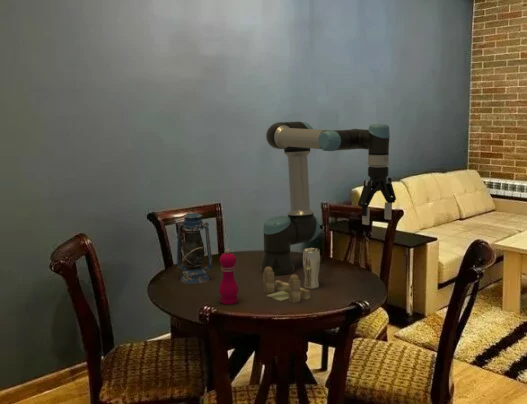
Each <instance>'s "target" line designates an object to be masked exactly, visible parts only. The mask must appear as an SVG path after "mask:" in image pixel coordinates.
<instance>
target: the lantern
mask: <svg viewBox="0 0 527 404" xmlns="http://www.w3.org/2000/svg"><path fill="white" fill-rule="evenodd" d="M191 211H194V212H193V213H191ZM202 217H203V214H201V213H198V212H197V210H196V209H193V208H191V209H189V210H188V212H187V213H186V214H185V215H183V218H184V220H183V222H182V221H181V222H180V221H178V222H177V224H176V225H177V244H176V245H177V249H176V265H177V268H178V269H180V270H182V275H181V277H180V282H181V283H183V284H188V285H200V284H204V283H207V282H209V281H210V280H211V279H210V276H209V274H208V271H210V270H212V268H213V257H212V256H213V255H212V248H211V238H210V230H209V223H208V221H206V222H205V223H204V222H203V220H202ZM202 230H204V231H205V232H204V233H205V242H206V247H205V246H204V245H205V244H204V241H203V237H202V234H201V231H202ZM182 231H186V235H185V240H184V244H182ZM206 254H207V262H208V263H207V266H206V267H203V266H202V265H203V262H204V260H205V255H206ZM182 256H183V262H184V263H185V264H186V266H185V265H183V264H182V261H181V260H182ZM209 279H210V280H209Z"/></svg>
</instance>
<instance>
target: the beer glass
mask: <svg viewBox="0 0 527 404" xmlns="http://www.w3.org/2000/svg"><path fill="white" fill-rule="evenodd" d="M320 254H321V253H320V249H319V248H316V247H305V248H303V249H302V260H301V261H302V268H303V269H302V270H303V273H304V274H303V275H304V282H303V287H304V289H308V290H309V289H313V290H314V289H318V288H319V287H320V284H319V273H320V266H321V255H320Z"/></svg>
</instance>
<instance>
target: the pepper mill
mask: <svg viewBox="0 0 527 404" xmlns="http://www.w3.org/2000/svg"><path fill="white" fill-rule="evenodd" d="M219 263H220V265H221V266H220V267H221V271H222V279H221V282H220V285H219V288H218V293H219V294H220V303H221V304H222V303H223V305H234V304H236V303H238V296H237V295H238V293H239V292H240V291H239V287H238V286H239V285H238V284H237V281H236V279H235V275H234V274H235V270H236V268H235V267H236V266H235V264H236V263H237V258H236V256H235V254H233V253H232V252H231V250H230V249H229V248H227V249H225V250H224V253H222V254H221V255H220V257H219ZM233 303H234V304H233Z"/></svg>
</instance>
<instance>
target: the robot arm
mask: <svg viewBox="0 0 527 404" xmlns="http://www.w3.org/2000/svg"><path fill="white" fill-rule="evenodd" d="M390 136H391V134H390V126H389V125H388V124H384V123H383V124H369V125H368V129H363V128H350V129H336V130H335V129H334V130H333V129H315V128H314V127H313V126H311V125H310V123H308V122H307V121H285V122H284V121H283V122H282V121H281V122H280V121H279V122H276V123H272V125H271V126H269V127H268V129H267V131H266V135H265V137H266V141H267V143H268V145H269V146H271V147H272V148H273V149H275V150H276V149H277V150H283V153H284V154H285V155H286V157H287V162H288V181H289V182H288V183H289V185H288V186H289V198H290V199H289V200H290V201H289V202H290V210H289V211H288V213H287V216H285V215H279V216H272V217H270V218H267V219H266V220H265V221H264V223H263V229H262V231H263V255H262V261H261V264H260V272H261V273H262V274H263V272H265V271H264V270H265V268H266V267H268V266H269V267H271V268H272V269H273V272H274V276H283V275H289V274H292V273H294V272H295V270H296V269H295V263H294V260H293V257H292V254H291V253H292V252H291V246H294V245H298V244H304V243H309V242H313V241H314V240H315V239H317V237H318V236H319V233H320V230H321V225H320V221H319V219H318V217H317V216H315V214H314V211H312V209H311V205H310V204H311V203H310V187H309V185H310V184H309V166H308V155H309V154H310V153H311V149H314V150H315V149H316V150H322V151H324V152H336V151H345V150H346V151H349V150H368V154H367V155H368V157H367V159H368V160H367V166H368V167H367V176H368V177H369V180H368V179H364V180H363V187H362V190H361V193H360V195H359V196H360V197H359V199H358V203H357V206H358V207H360V208H361V217H362V218H361V220H362V223H361V224H362V225H365V226H369V225H370V203H371V202H372V200H373V198H374V196H375V194H376V193H377V192H380V193H381V194H382V196H383V197H384V200H385V202H384V219H385V220H392V210H393V204H394V203H395V201H396V200H397V196H396V194H395V190H394V187H393V183H392V181H393V180H392V177H389V170H390V169H389V167H388V166H389V165H390V164H389V163H390V162H389V158H390V157H389V155H390V154H389V153H390Z"/></svg>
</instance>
